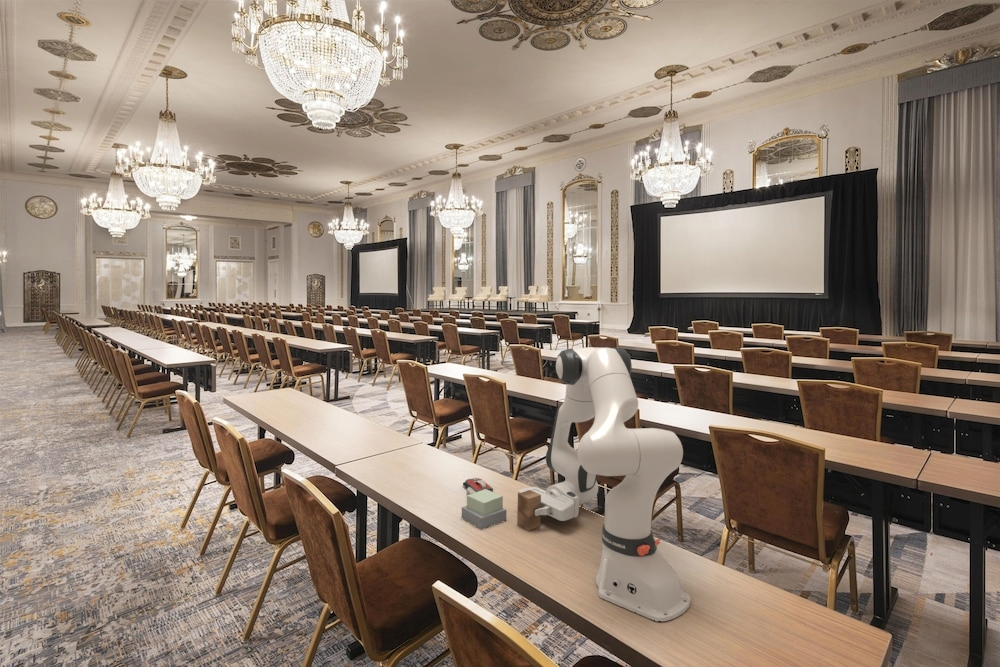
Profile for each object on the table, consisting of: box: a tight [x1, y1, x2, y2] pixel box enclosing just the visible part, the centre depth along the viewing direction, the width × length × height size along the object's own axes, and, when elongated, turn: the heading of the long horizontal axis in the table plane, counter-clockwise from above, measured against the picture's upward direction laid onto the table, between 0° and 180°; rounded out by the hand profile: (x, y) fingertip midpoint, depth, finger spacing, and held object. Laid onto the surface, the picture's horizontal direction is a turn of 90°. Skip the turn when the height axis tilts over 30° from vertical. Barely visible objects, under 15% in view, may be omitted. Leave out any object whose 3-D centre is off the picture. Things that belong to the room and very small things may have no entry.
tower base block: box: [461, 505, 507, 530], centre depth 163 cm, size 10×10×4 cm
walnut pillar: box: [516, 490, 542, 532], centre depth 158 cm, size 5×5×10 cm
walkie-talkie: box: [462, 477, 494, 496], centre depth 183 cm, size 9×4×20 cm
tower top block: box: [466, 489, 504, 516], centre depth 163 cm, size 8×8×4 cm
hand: (526, 509), depth 158 cm, fingers closed on walnut pillar, 5 cm apart
